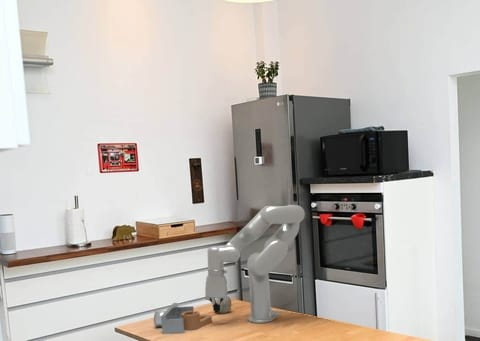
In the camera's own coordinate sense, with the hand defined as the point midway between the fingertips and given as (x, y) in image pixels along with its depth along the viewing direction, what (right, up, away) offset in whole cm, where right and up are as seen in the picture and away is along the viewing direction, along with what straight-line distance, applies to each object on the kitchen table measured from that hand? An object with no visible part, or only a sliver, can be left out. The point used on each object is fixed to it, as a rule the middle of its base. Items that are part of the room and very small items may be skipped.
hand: (216, 312), depth 226 cm
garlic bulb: (+2, -7, +21) cm, 22 cm away
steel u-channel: (-22, -7, +2) cm, 23 cm away
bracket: (-9, -7, +1) cm, 11 cm away
